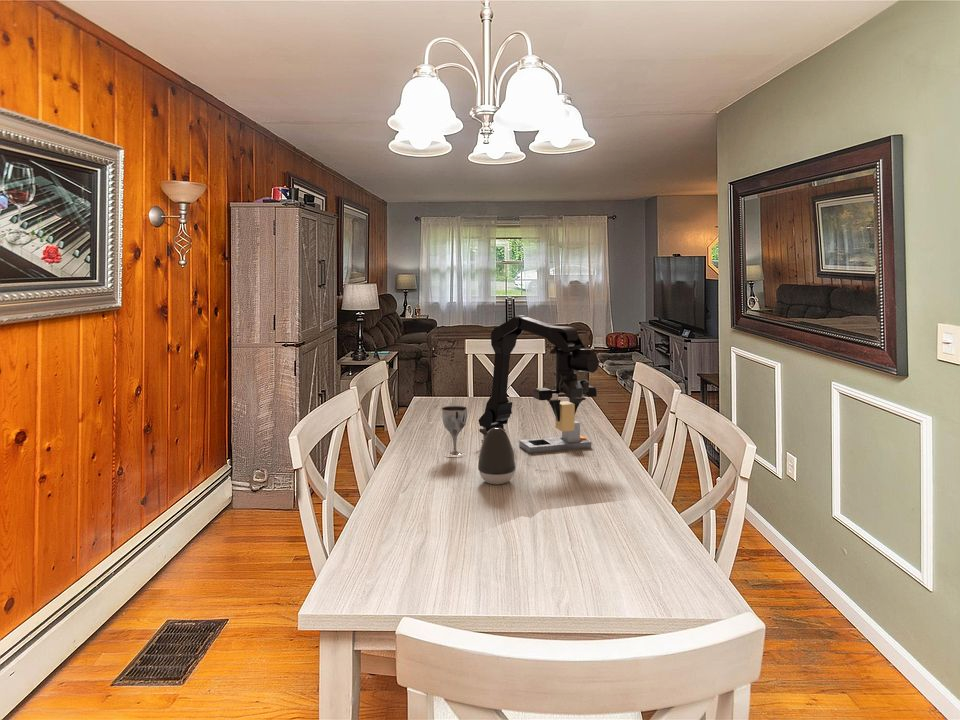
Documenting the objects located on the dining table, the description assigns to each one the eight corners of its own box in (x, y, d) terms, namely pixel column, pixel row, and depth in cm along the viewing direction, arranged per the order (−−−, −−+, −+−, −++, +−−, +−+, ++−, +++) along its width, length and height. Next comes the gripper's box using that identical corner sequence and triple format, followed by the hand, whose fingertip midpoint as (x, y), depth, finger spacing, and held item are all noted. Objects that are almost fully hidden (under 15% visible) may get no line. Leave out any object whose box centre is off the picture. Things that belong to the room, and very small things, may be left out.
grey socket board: (529, 456, 207) (529, 445, 206) (519, 449, 216) (519, 438, 215) (591, 451, 213) (591, 440, 212) (578, 443, 222) (578, 433, 221)
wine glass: (455, 450, 216) (455, 404, 214) (472, 454, 210) (472, 407, 208) (437, 454, 210) (436, 408, 208) (454, 459, 204) (453, 411, 202)
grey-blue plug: (568, 448, 213) (568, 423, 212) (562, 444, 217) (562, 420, 216) (579, 447, 214) (580, 422, 213) (573, 443, 219) (573, 419, 218)
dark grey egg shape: (489, 474, 190) (488, 421, 188) (521, 479, 184) (521, 425, 182) (470, 483, 181) (470, 429, 179) (504, 489, 176) (504, 433, 174)
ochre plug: (562, 431, 198) (562, 404, 197) (555, 427, 203) (555, 401, 202) (574, 430, 199) (574, 404, 198) (567, 426, 204) (567, 401, 203)
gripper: (546, 374, 188) (546, 428, 190) (606, 371, 194) (605, 424, 196) (532, 369, 199) (532, 420, 201) (589, 366, 204) (588, 416, 206)
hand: (564, 420), depth 201 cm, fingers closed on ochre plug, 4 cm apart
